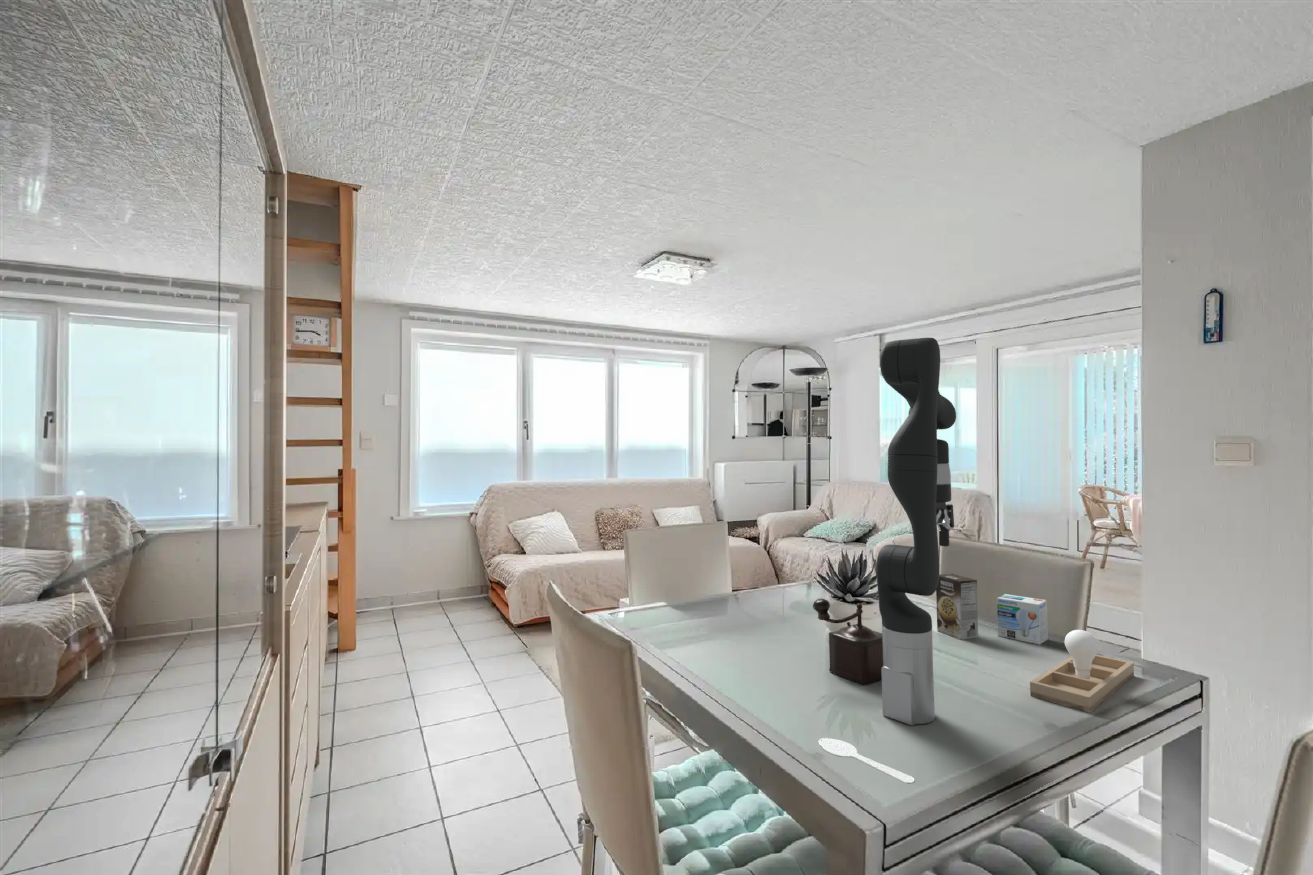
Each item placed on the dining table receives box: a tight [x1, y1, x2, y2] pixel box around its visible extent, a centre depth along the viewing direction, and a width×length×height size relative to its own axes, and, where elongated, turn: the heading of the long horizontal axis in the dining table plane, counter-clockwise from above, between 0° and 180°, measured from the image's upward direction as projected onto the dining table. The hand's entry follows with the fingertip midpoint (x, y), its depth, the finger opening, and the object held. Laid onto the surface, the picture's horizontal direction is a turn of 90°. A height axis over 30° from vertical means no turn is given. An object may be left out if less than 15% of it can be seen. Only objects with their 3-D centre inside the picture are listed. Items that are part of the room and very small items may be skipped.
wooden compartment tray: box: [1029, 654, 1135, 713], centre depth 130 cm, size 30×10×3 cm, turn 128°
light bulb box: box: [996, 593, 1049, 645], centre depth 163 cm, size 11×7×11 cm, turn 41°
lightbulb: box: [1064, 629, 1100, 679], centre depth 130 cm, size 6×6×11 cm
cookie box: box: [935, 573, 979, 641], centre depth 168 cm, size 9×6×16 cm
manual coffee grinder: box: [812, 598, 883, 686], centre depth 138 cm, size 16×11×18 cm
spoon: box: [817, 737, 915, 784], centre depth 101 cm, size 5×18×1 cm, turn 37°
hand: (936, 547), depth 146 cm, fingers open, 8 cm apart
